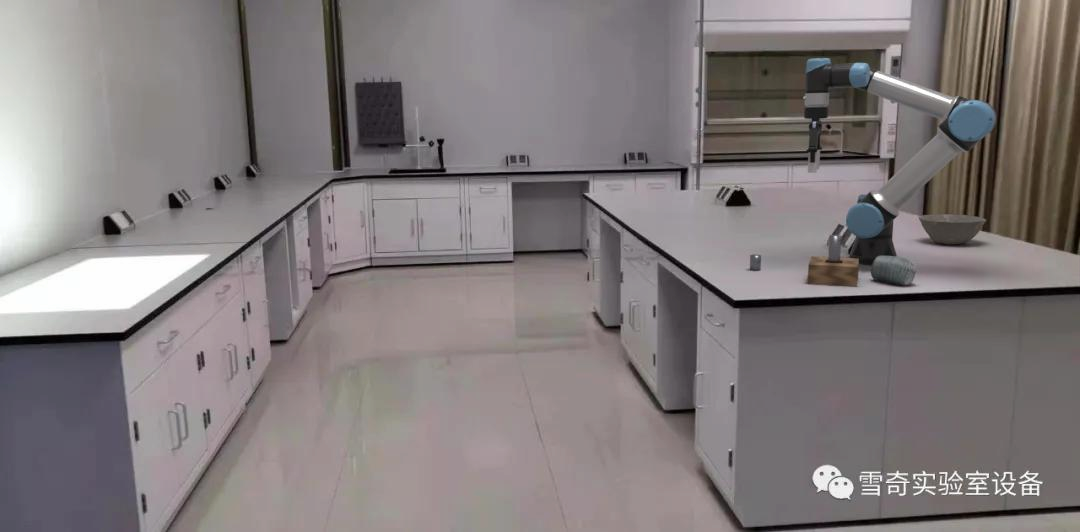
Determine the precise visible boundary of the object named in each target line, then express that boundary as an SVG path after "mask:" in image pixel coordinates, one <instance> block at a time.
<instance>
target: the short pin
mask: <svg viewBox="0 0 1080 532" xmlns="http://www.w3.org/2000/svg"><path fill="white" fill-rule="evenodd" d="M749 270H750V271H751V272H760V271H762V254H757V253H753V254H750V255H749Z"/></svg>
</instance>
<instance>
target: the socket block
mask: <svg viewBox="0 0 1080 532" xmlns="http://www.w3.org/2000/svg"><path fill="white" fill-rule="evenodd" d="M859 264H860V263H859V259H856V258H849V257H840V263H828V256H811V258H810V260H809V263H808V265H807V266H808V269H807V284H808V285H820V284H821V286H822V285H823V286H836V287H837V286H840V287H858V286H857V285H858V282H859V281H858V279H859V278H858V277H859V266H860V265H859Z"/></svg>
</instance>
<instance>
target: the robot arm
mask: <svg viewBox="0 0 1080 532" xmlns="http://www.w3.org/2000/svg"><path fill="white" fill-rule="evenodd" d="M806 61H807V62H806V68H805V81H804V83H805V88H804V89H805V90H804V93H805V94H804V96H803V98H802V99H803V100H804V106H806V107H804V111H803V113H804V114H803V118H804V119H805V120H807V119H809V120H810V119H811V121H810V123H809V124H808V136H809V140H808V147H807V149H806V152H805V153H808V157H807V173H814V174H816V173H817V170H820V163H821V162H820V160H821V159H820V158H821V151H822V150H823V146H821V136H822V129H823V124H822V121H821V119H827V118H828V117H829V107H827V106H829V104H830V88H831V89H833V88H855V89H857V90H860V91H864V92H866V93H868V94H872V95H874V96H877V97H880V98H881V99H885V100H887V101H889V102H893V103H896V104H899V105H901V106H903V107H907V108H908V109H909V108H910V109H912V110H915V111H917V112H919V113H923V114H926V115H928V116H930V117H933V118H935V119H939V120H940V121H942V122H941V123H940V124H939V125H938V126H937V133H936V135H935V136H934V137H932V139H930V140H929V142H927V143H926V144H925V145H924V146H923V147H922V148H921V149H920V150H919V151H918V152H917V153H916V154H915V155H914V156H912V158H911V159H909V160H908V161H907V162H906V163H905V164H904V165H903V166H902V167H901V168H900V169H899V170H898V171H897V172H895V174H894V175H893V176H892V177H891V178H890V179H888V180H887V181H886V182H885V183H884V184H883V185H882V186H881V187H879V189H871V190H870V191H869V192H868V193H867V194H864V193H863V194H859V195H858V198H857V201H856V203H855V204H854V205H852V207H850V208H849V210H848V212H847V214H846V218H845V224H846V226H847V227H846V228H847V230H848V231H849V232H850V233H851V234H852V235H853V236H855V240H854V243H853V244H852V247H851V250H850V251H849V257H848V258H856V259H859V264H862V265H870V266H872V263H873V261H874V260H875V258H876V257H878V256H896V257H898V255H897V252H896V247H895V246H894V245H895V244H894V240H893V236H894V235H893V233H894V220H895V219H896V218H897V217H899V215H900V208H901V207H902V206H903V205H904V204H905V203H907V202H908V201H909V199H911V198H912V197H913V196H914V195H915V194H916V193H917V192H918V191H920V189H922V187H923V186H925V185H926V184H927V183H929V181H931V179H933V177H936V176H935V175H937V174H938V173H939V172H940V171H941V170H942V169H943V168H944V167H946V166H947V165H948V164H949V163H950V162H951V161H952V160H953V159H954V158H955V157H956V156H958V154H960V153H962V154H963V153H968V152H969V151H971V150H972V149H973V148H974V147H975V146H976V145H978V143H979V142H981V140H982V139H984V138H985V137H986V136H987V135H989V134H990V133H991V132H992V131H993V130H994V128H995V127H996V124H997V121H998V119H997V118H998V115H997V112H996V110H995V108H994V107H993V106H992V105H991V104H990V103H989V102H986V101H983V100H977V99H970V98H967V97H963V96H960V95H957V96H951V95H948V94H945V93H943V92H939V91H937V90H934V89H931V88H928V87H926V86H923V85H921V84H917V83H914V82H911V81H909V80H907V79H903V78H900V77H897V76H894V75H891V74H889V73H886V72H883V71H880V70H876V69H875V68H871V67H870V65H869V64H868V63H866V62H851V63H850V62H847V63H832V62H831V58H827V57H826V58H825V57H824V58H823V57H822V58H821V57H817V58H809V59H808V60H806Z"/></svg>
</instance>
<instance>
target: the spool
mask: <svg viewBox="0 0 1080 532" xmlns="http://www.w3.org/2000/svg"><path fill="white" fill-rule="evenodd" d="M870 266H871V267H870V276H871V278H872V279H874V280H875V281H877V282H885V283H891V284H895V285H896V284H897V285H900V286H908V285H910V284H911V283H913V281H914V279H915V276H916V274H917V266H916V264H915V263H914V262H913V261H911V260H910V259H907V258H905V257H904V258H903V257H900V256H897V257H896V256H878V257H876V258H875V260H874V261H873V263H872V265H870Z"/></svg>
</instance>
